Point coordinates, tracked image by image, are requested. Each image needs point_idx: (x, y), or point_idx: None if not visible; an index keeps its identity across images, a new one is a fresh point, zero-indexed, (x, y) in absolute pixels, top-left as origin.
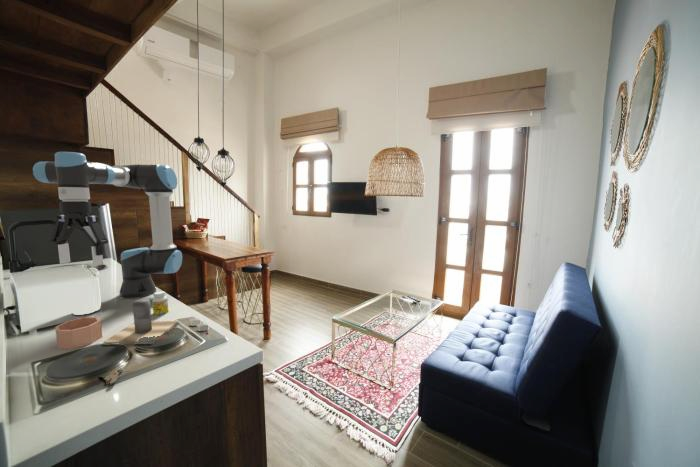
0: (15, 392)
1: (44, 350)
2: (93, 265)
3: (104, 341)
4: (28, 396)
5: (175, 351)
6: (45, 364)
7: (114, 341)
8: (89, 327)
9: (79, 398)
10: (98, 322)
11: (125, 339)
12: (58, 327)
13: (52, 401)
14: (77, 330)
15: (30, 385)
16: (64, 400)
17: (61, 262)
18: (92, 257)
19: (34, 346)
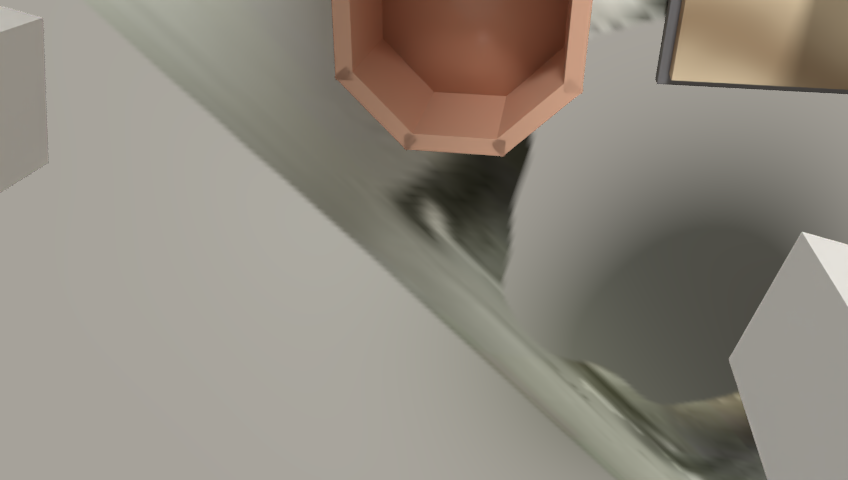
0: (538, 401)
1: (340, 86)
2: (734, 363)
3: (676, 75)
4: (609, 428)
5: None
6: (478, 228)
7: (747, 82)
8: (581, 91)
9: None
10: (591, 3)
11: (813, 58)
12: (371, 94)
13: (722, 465)
14: (528, 132)
15: (556, 370)
16: None
17: (29, 169)
18: (766, 474)
19: (236, 33)
